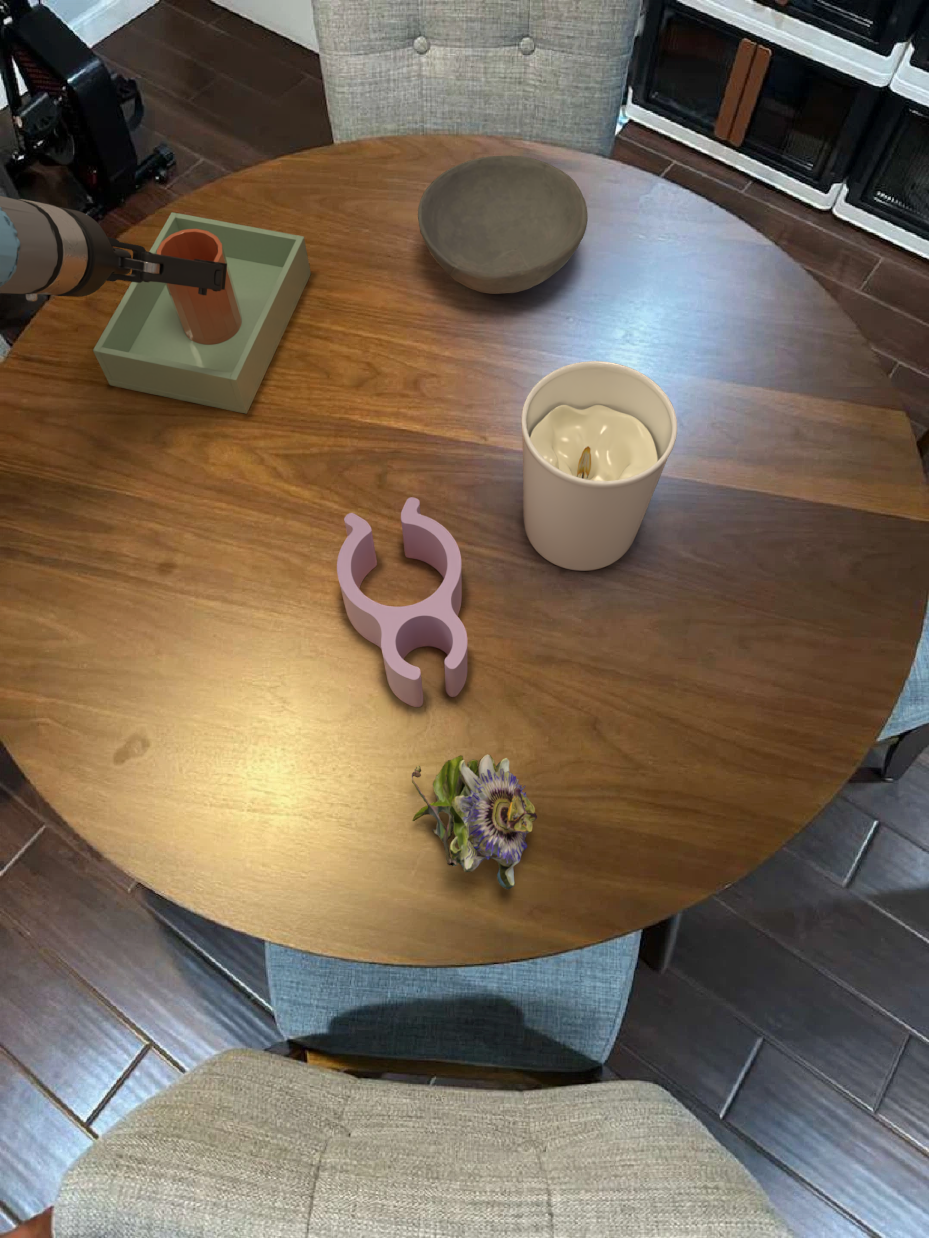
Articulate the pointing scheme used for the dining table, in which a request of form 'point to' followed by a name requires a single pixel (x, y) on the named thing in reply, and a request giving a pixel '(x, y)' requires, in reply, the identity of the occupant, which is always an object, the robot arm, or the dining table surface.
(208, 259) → the cup
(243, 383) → the green tray
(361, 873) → the dining table surface
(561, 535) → the candle holder
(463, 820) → the passion flower
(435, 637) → the clip
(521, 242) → the bowl
